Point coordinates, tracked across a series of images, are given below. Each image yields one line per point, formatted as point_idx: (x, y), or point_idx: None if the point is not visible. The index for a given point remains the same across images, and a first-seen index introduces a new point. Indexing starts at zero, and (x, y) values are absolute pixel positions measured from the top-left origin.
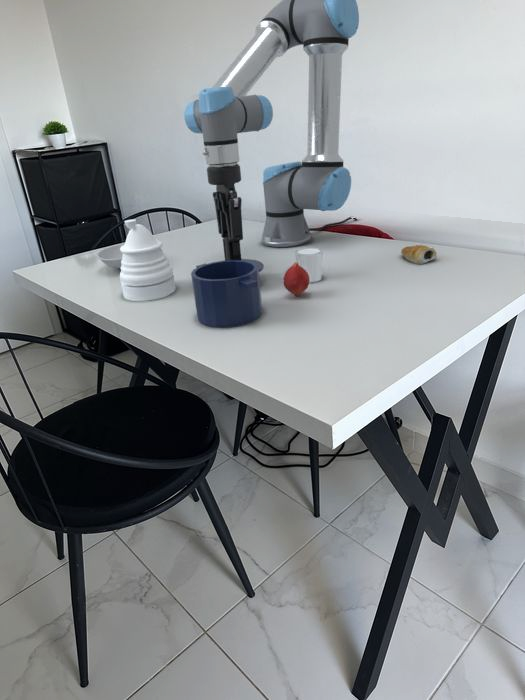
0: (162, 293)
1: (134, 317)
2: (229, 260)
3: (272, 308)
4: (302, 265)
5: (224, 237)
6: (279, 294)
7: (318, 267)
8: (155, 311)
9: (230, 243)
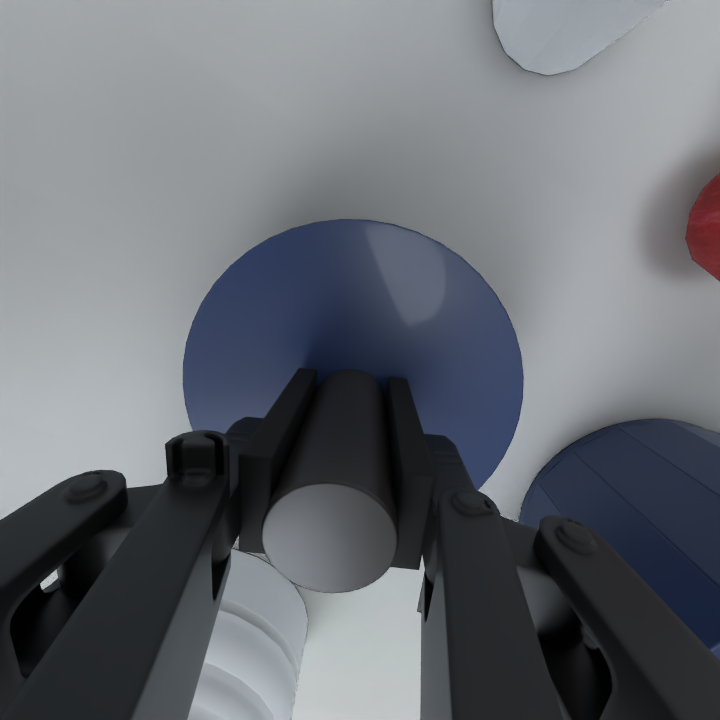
0: (302, 619)
1: (414, 697)
2: (717, 654)
3: (714, 382)
4: (665, 2)
5: (304, 587)
6: (613, 277)
7: None
8: (412, 651)
9: (419, 548)
